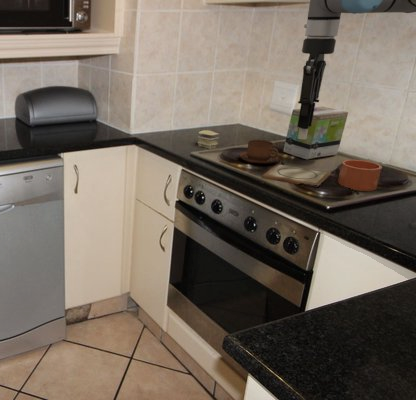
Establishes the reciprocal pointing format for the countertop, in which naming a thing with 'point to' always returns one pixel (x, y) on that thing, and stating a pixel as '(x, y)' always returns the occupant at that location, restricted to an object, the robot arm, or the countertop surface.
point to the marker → (304, 129)
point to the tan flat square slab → (296, 175)
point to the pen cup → (359, 175)
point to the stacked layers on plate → (207, 139)
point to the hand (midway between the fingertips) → (304, 126)
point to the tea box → (316, 134)
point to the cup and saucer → (260, 152)
